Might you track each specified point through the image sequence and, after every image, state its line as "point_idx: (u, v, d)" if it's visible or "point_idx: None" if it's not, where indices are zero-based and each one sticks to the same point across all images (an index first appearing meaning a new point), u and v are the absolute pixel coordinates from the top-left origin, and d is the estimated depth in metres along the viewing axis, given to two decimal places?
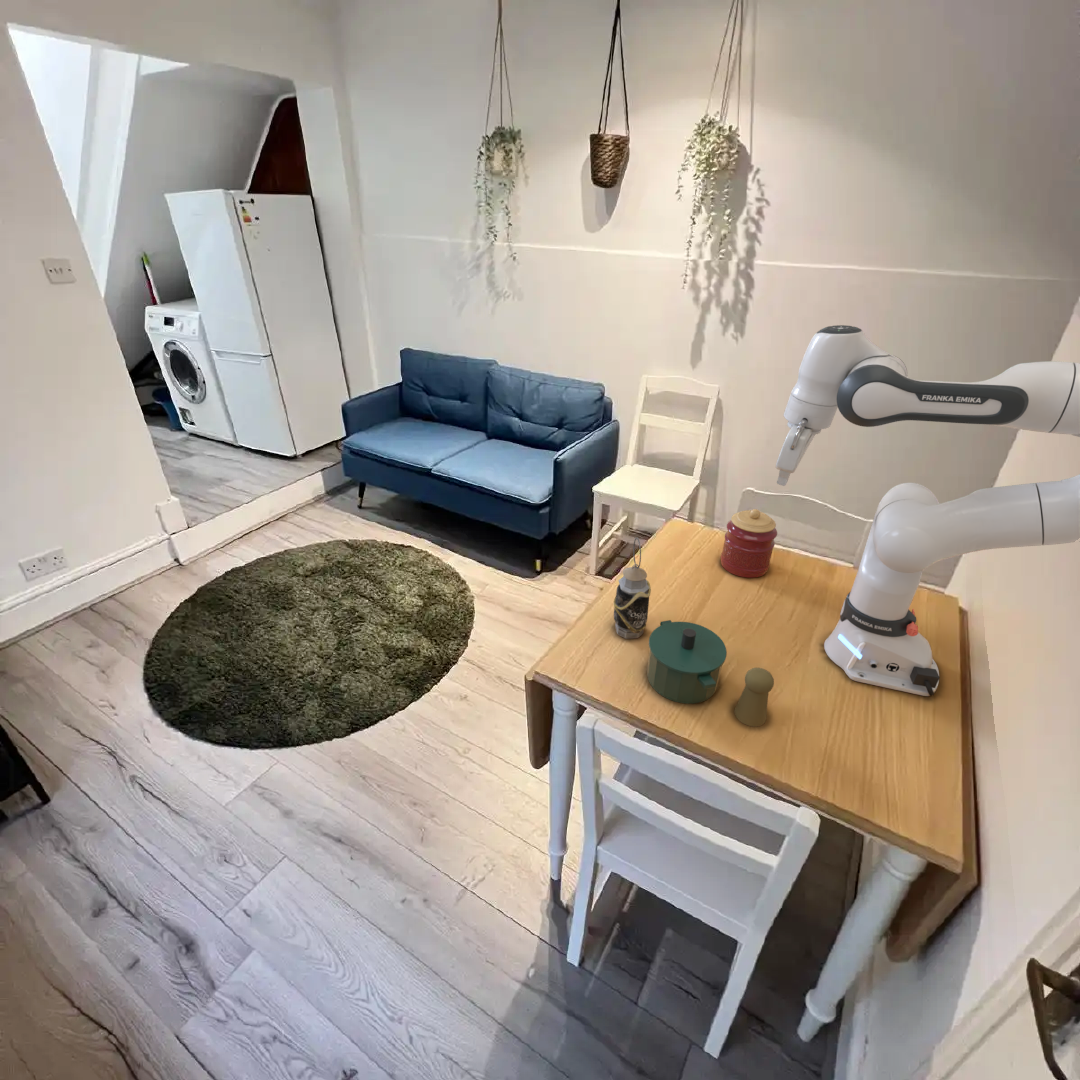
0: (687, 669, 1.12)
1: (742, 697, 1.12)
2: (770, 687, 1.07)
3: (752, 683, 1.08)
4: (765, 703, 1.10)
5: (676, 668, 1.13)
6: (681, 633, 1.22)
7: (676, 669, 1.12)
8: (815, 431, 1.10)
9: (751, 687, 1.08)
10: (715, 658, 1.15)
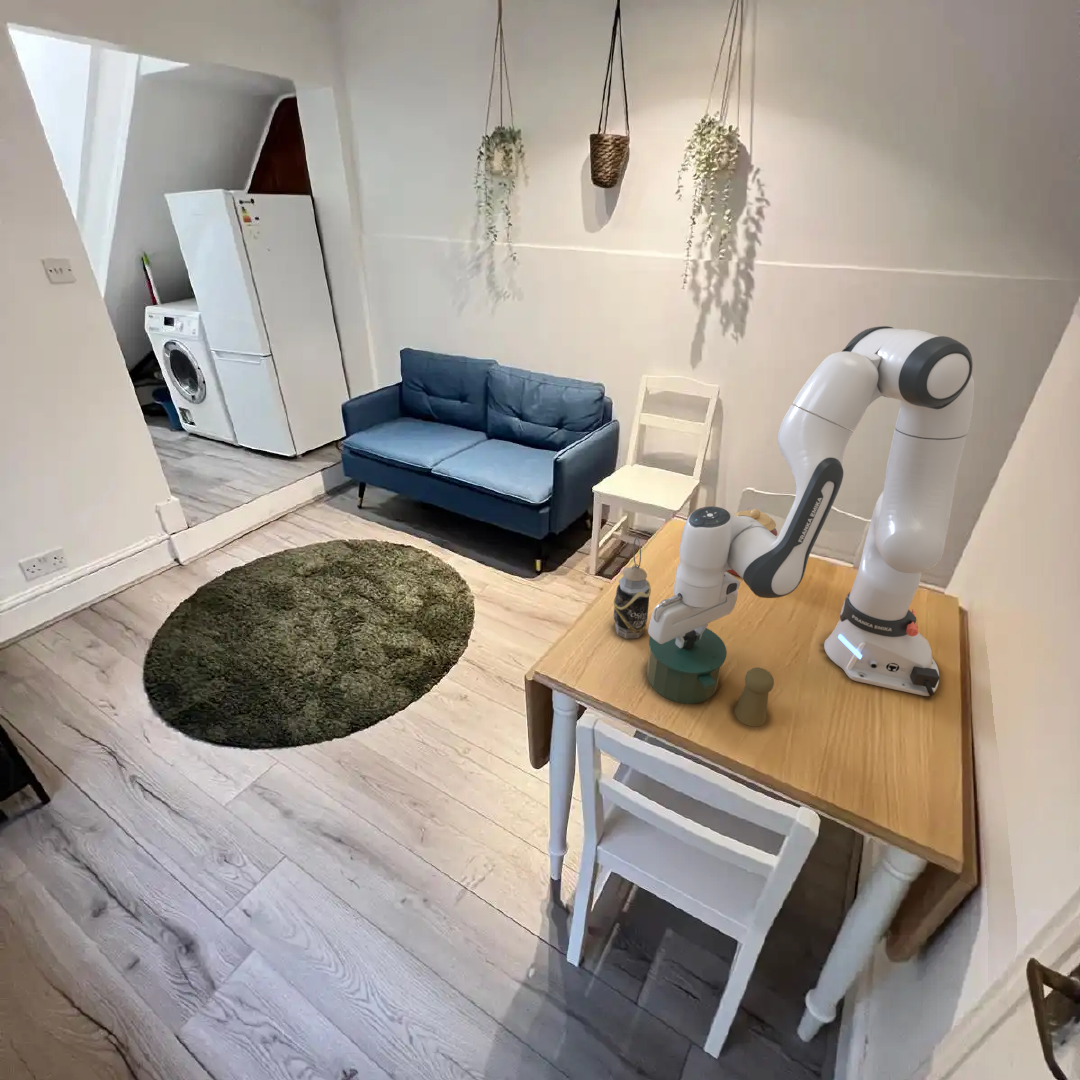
0: (687, 669, 1.12)
1: (742, 697, 1.12)
2: (770, 687, 1.07)
3: (752, 683, 1.08)
4: (765, 703, 1.10)
5: (676, 668, 1.13)
6: None
7: (676, 669, 1.12)
8: (696, 607, 1.09)
9: (751, 687, 1.08)
10: (715, 658, 1.15)
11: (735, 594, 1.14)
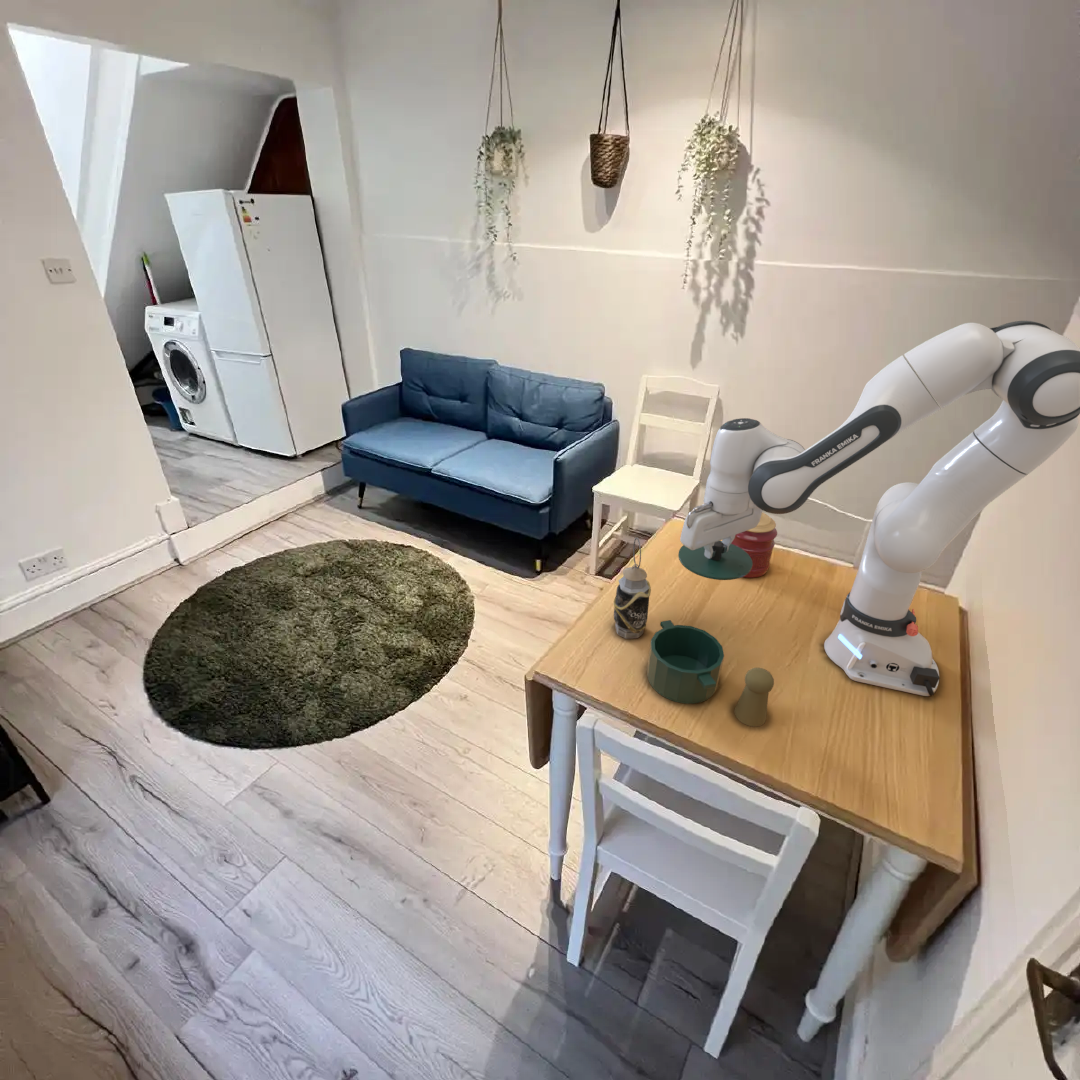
0: (716, 575, 1.19)
1: (742, 697, 1.12)
2: (770, 687, 1.07)
3: (752, 683, 1.08)
4: (765, 703, 1.10)
5: (706, 574, 1.20)
6: None
7: (706, 575, 1.19)
8: (725, 515, 1.16)
9: (751, 687, 1.08)
10: (742, 567, 1.22)
11: None
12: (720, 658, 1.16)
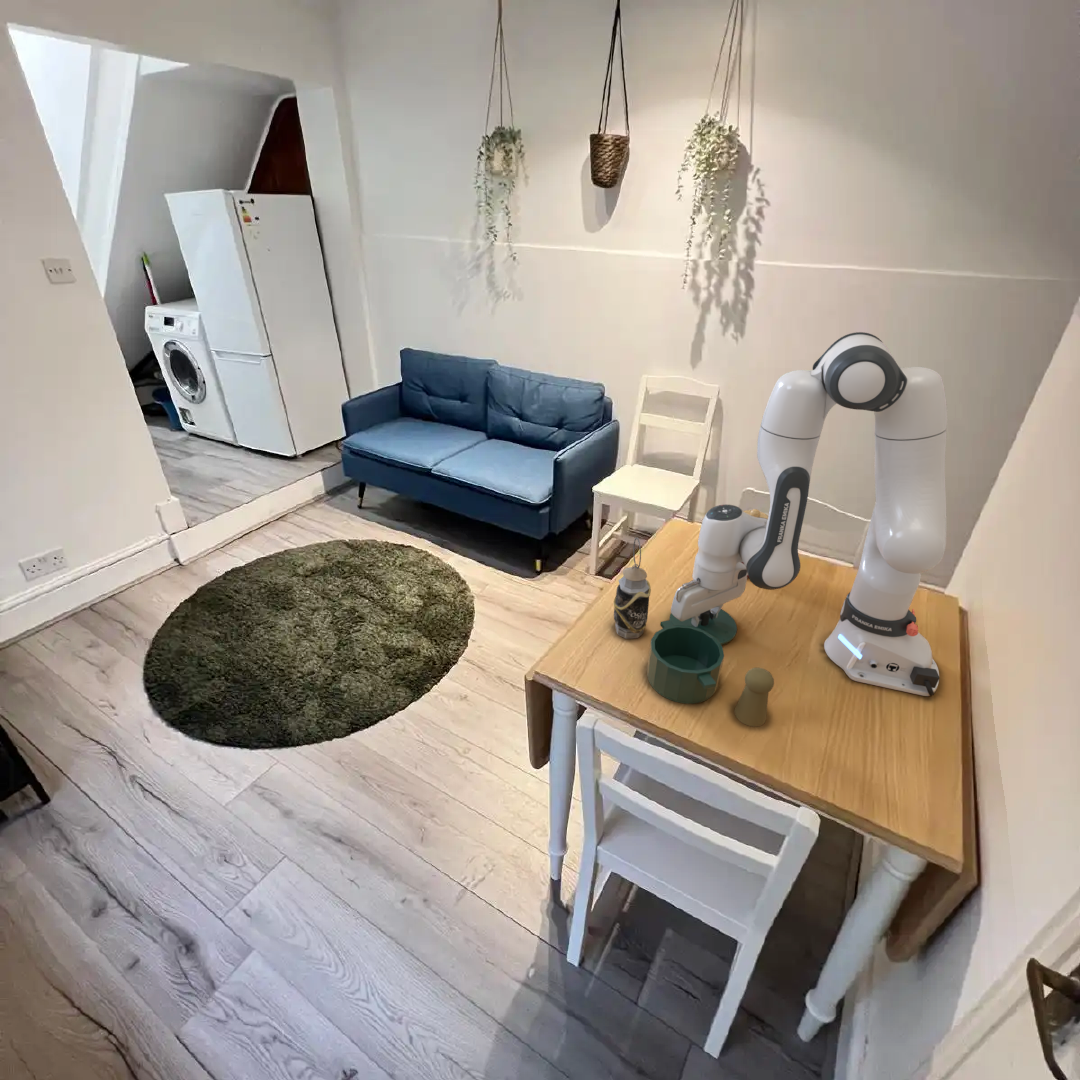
0: None
1: (742, 697, 1.12)
2: (770, 687, 1.07)
3: (752, 683, 1.08)
4: (765, 703, 1.10)
5: None
6: None
7: None
8: (712, 590, 1.28)
9: (751, 687, 1.08)
10: (727, 633, 1.34)
11: (745, 579, 1.33)
12: (720, 658, 1.16)
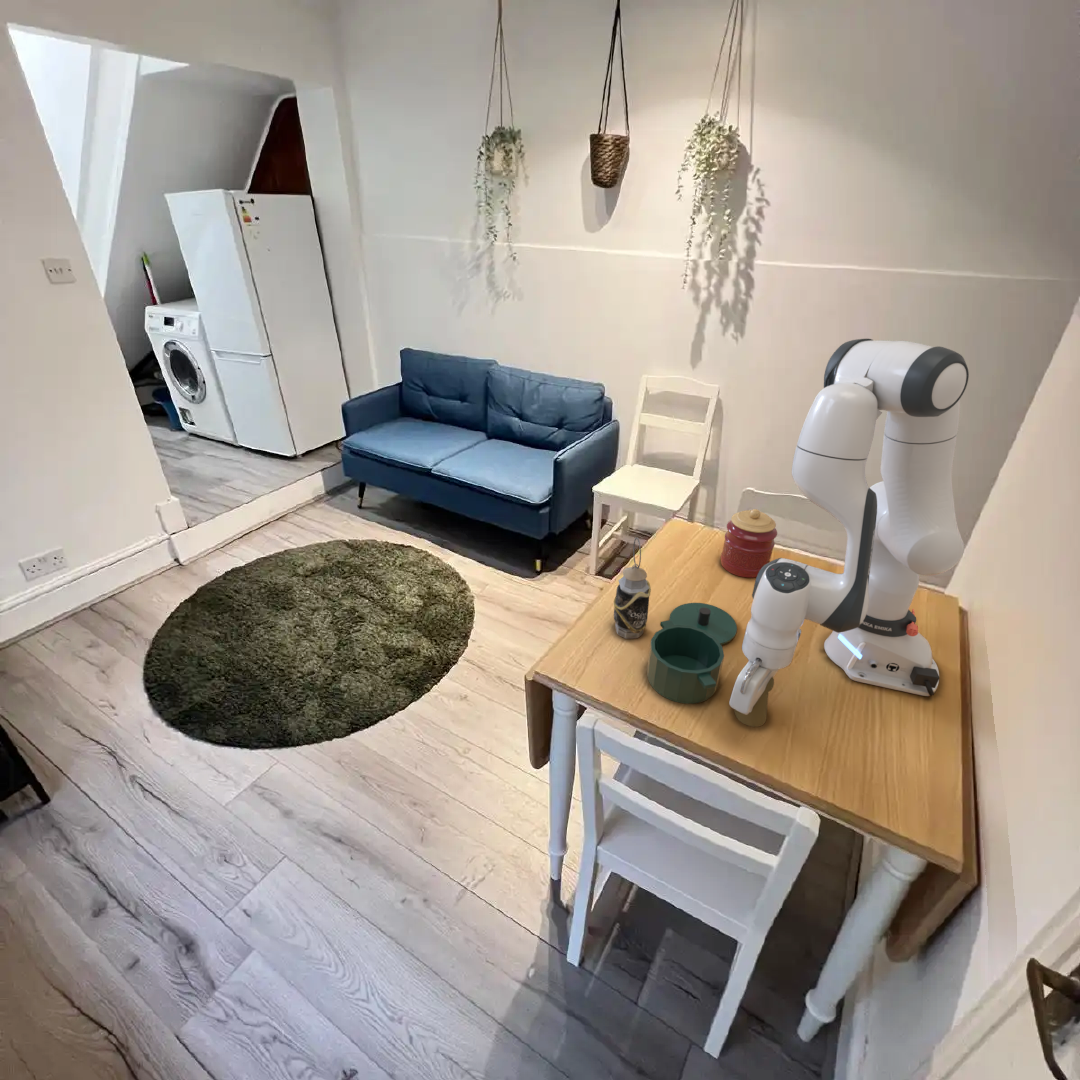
0: None
1: None
2: (770, 687, 1.07)
3: None
4: (765, 703, 1.10)
5: None
6: (697, 612, 1.40)
7: None
8: None
9: None
10: (727, 633, 1.34)
11: None
12: (720, 658, 1.16)
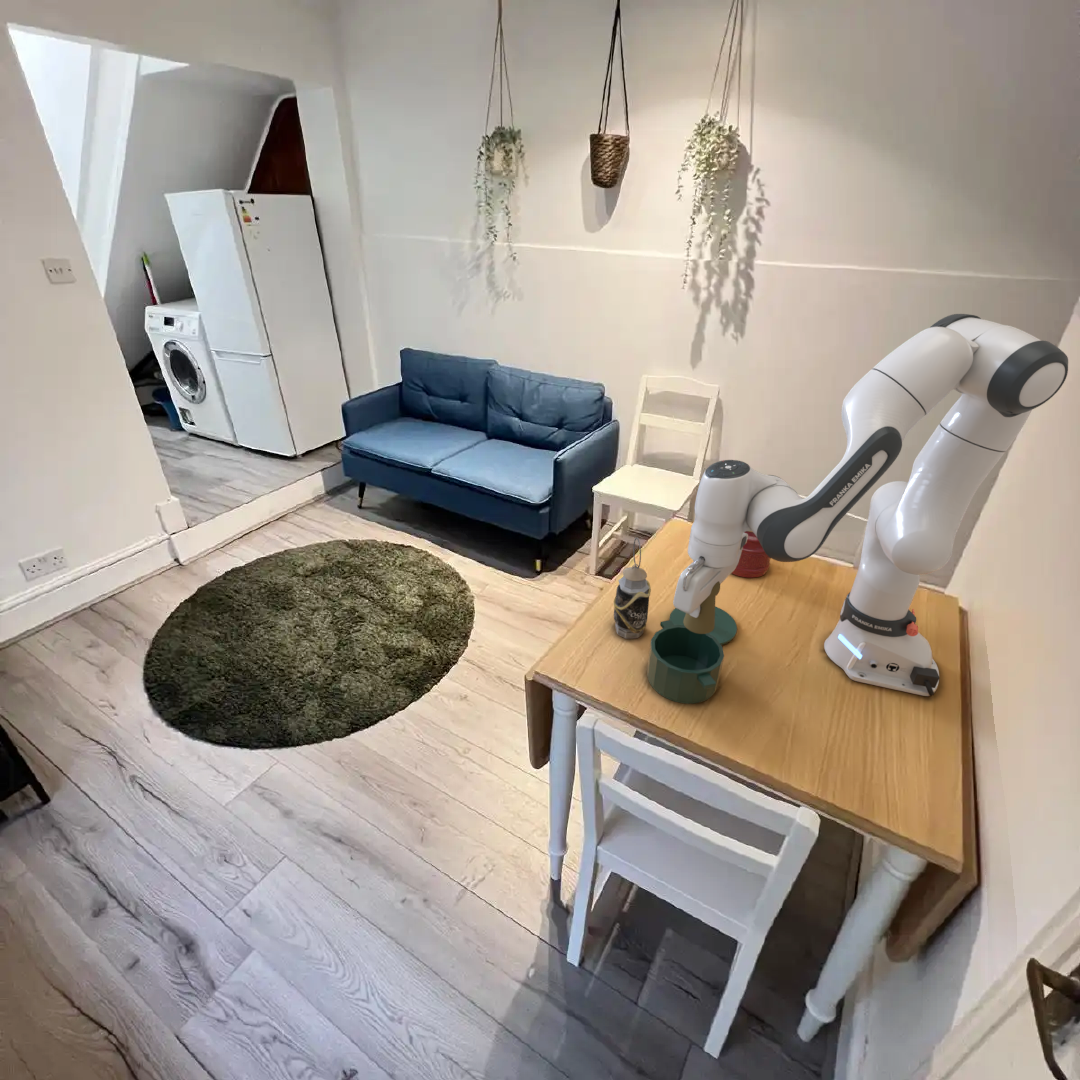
0: None
1: None
2: (716, 591, 1.07)
3: None
4: (712, 609, 1.10)
5: None
6: None
7: None
8: (717, 568, 1.03)
9: None
10: (727, 633, 1.34)
11: (742, 548, 1.11)
12: (720, 658, 1.16)
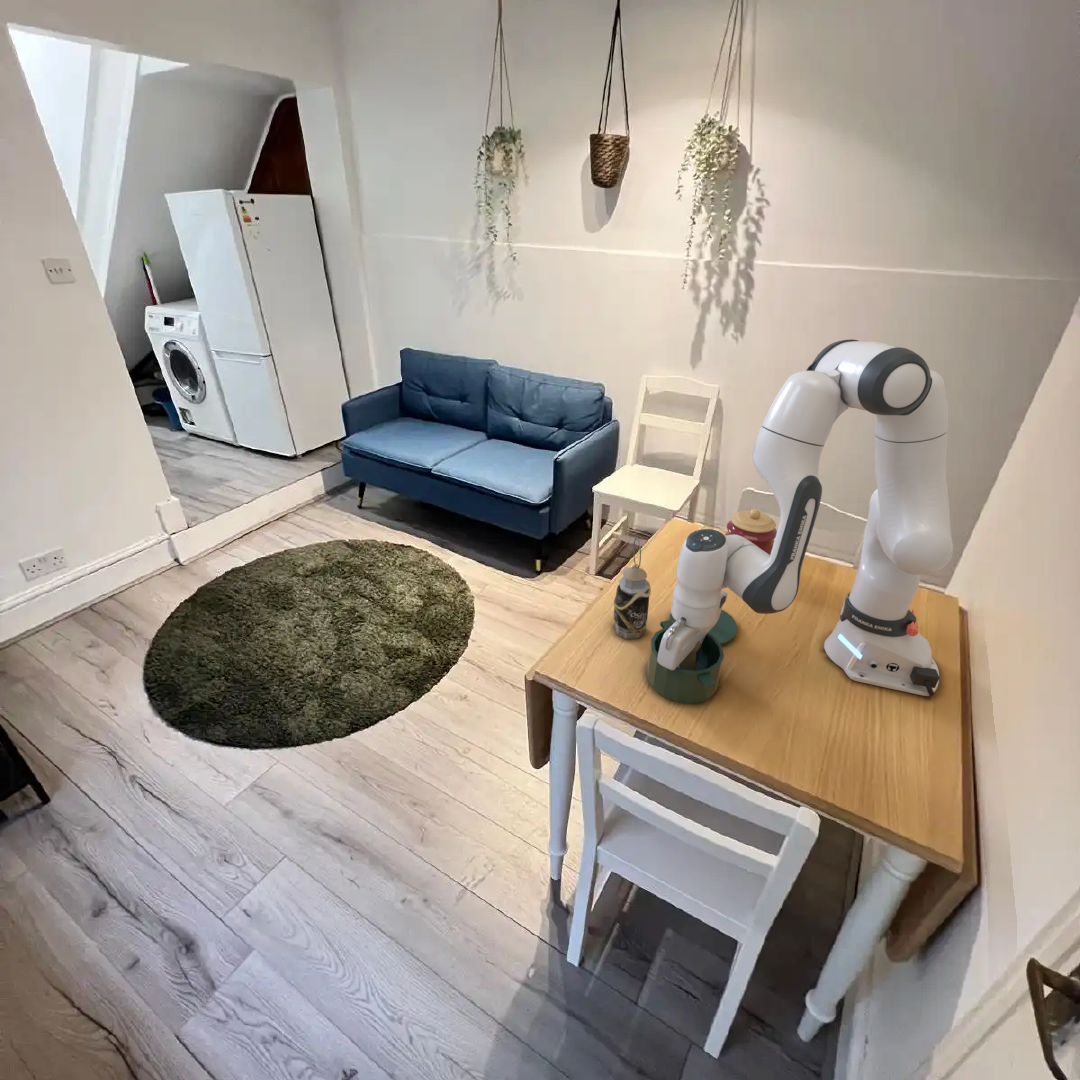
0: None
1: None
2: (696, 648, 1.16)
3: None
4: (693, 663, 1.19)
5: None
6: None
7: None
8: None
9: None
10: (727, 633, 1.34)
11: (722, 605, 1.19)
12: (720, 658, 1.16)
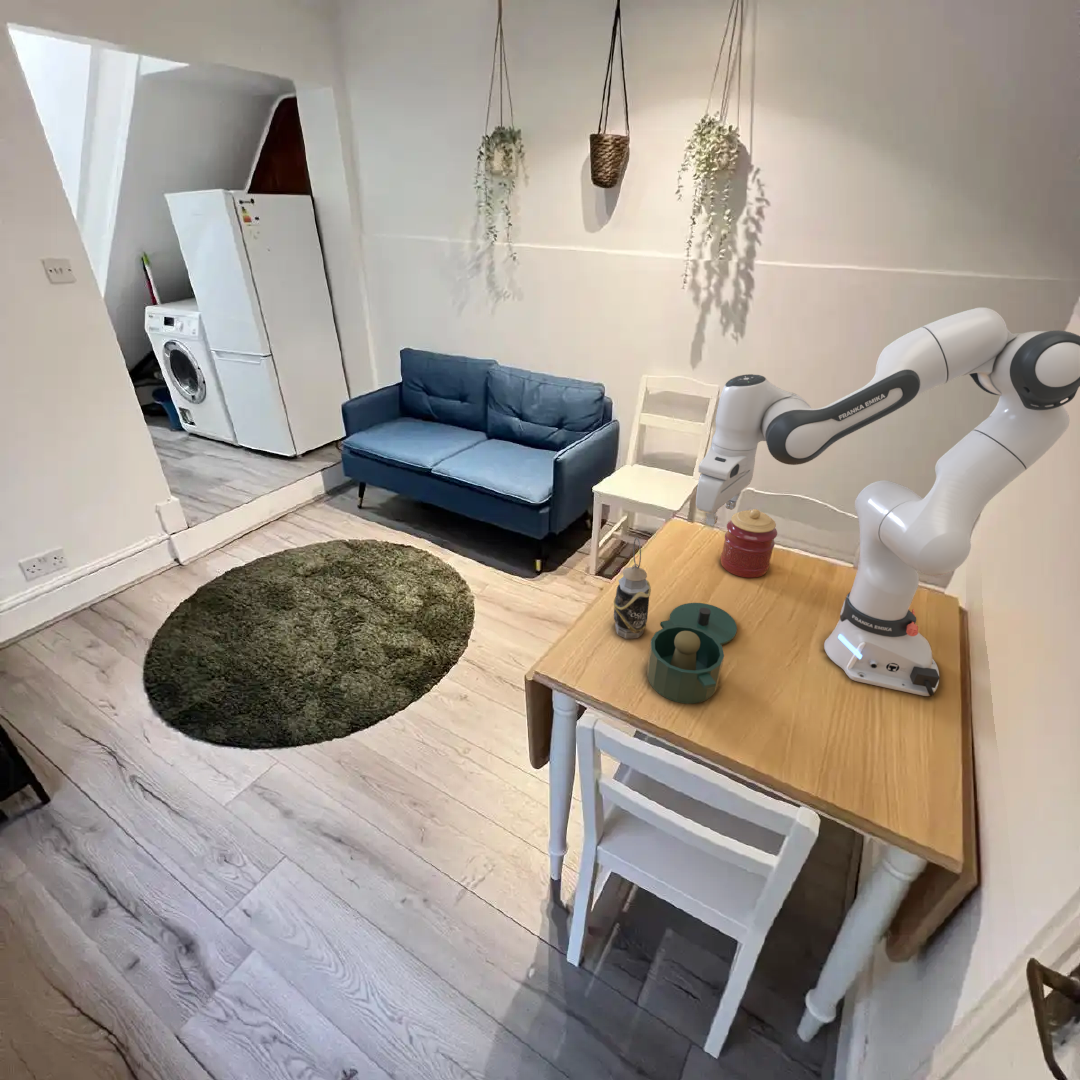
0: None
1: (672, 658, 1.20)
2: (696, 648, 1.16)
3: (680, 644, 1.16)
4: (693, 663, 1.19)
5: None
6: (697, 612, 1.40)
7: None
8: None
9: (679, 648, 1.17)
10: (727, 633, 1.34)
11: None
12: (720, 658, 1.16)
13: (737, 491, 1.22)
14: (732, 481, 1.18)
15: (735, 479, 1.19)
